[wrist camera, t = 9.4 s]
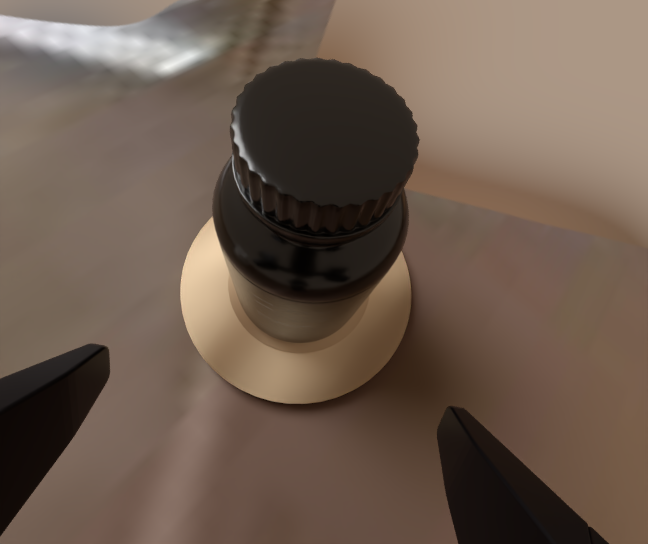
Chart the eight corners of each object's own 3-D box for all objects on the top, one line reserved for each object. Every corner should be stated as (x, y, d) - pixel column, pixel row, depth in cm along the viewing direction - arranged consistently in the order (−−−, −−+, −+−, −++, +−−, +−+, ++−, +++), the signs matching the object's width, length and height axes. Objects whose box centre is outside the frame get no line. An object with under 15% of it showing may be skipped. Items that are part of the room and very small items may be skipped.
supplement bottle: (381, 281, 20) (510, 135, 9) (303, 372, 18) (348, 323, 7) (295, 208, 21) (317, -5, 10) (209, 285, 19) (117, 117, 8)
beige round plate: (442, 265, 22) (448, 260, 21) (330, 457, 18) (332, 460, 17) (277, 157, 24) (277, 148, 23) (131, 309, 19) (125, 305, 18)
